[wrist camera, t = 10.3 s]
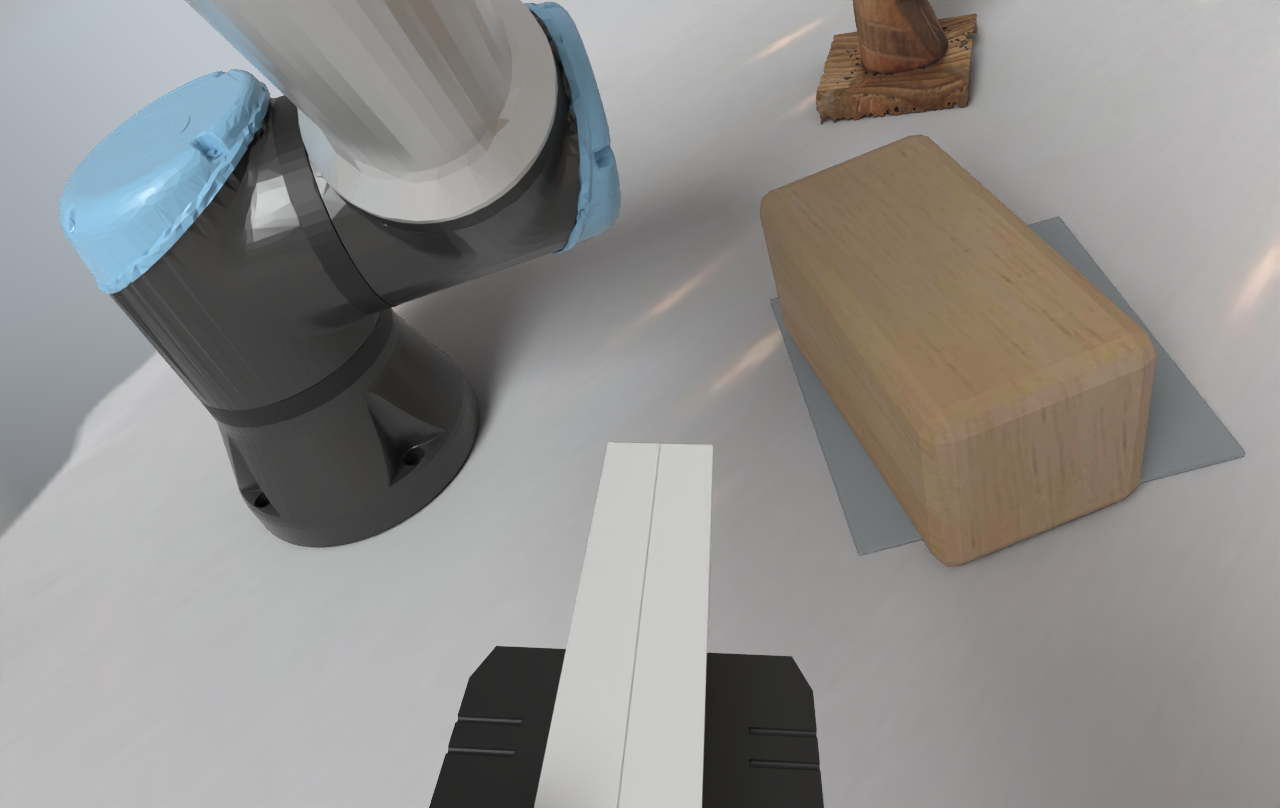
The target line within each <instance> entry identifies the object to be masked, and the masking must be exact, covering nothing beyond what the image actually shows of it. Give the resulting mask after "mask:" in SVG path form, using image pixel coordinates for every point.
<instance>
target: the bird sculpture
mask: <svg viewBox="0 0 1280 808" xmlns="http://www.w3.org/2000/svg"><path fill="white" fill-rule="evenodd" d="M853 6H854V14H855V22H856V27H857V32H852V33H845V34H838V35H835V36H834V37H833V38H834V41H833V42H832V44H831V49H830V52H829V54H830V55H828V57H827V59H828V60H827V61H826V62H825V69H824V73H826V74H823V75H822V77H821V81H820V85H819V87H818V90H817V95H816V100H817V101H816V105H817V111H818V112H819V113H820V118H821V124H823V121H824V119H825V118H827V117H831V118H832V120H833V121H834V123H835V122H836V119H837V118H840V119H841V118H843V117H845V118H846V119H847V120H849V119H850V118H854V120H858V119H860V118H861V117H862V116H864V115H866V116H868V117H869V115H870V114H874V117H877V116H878V115H879V116H880V117H881V116H884V113H886V114H887V110H888V112H889V113H890V115H892V114H894V115H898V114H901V113H903V114H905V113H910V111H912V113H913V112H926V110H927V109H928V110H931V109H933V110H934V111H935V110H936V109H941V110H942V108H943V107H946V108H947V107H949V108H955V107H953V106H952V105H953V103H954V102H956V103H957V107H966V106H967V104H968V100H969V77H970V73H969V71H970V70H969V68H970V64H971V62H969V60H970V59H971V50H972V46H973V45H972V44H971V43H972V39H973V38H971V39H970V38H969V39H967V37H965V34H966V35H967V34H968V35H970V34H972V33H974V34H975V33H977V21H976V17H977V14H972V15H965V16H958V17H951V18H946V19H939V20H938V19H937V18H936V16H935V14H934V11H933V9H932V7H931V6H930V4H929V2H928V0H853ZM962 34H963V36H962ZM950 36H954V37H953V39H951V38H949V37H950ZM957 36H959V37H957ZM955 39H959V40H960V41H962V40H966V41H964V42H963V43H961V42H960V41H955ZM948 41H949V42H948ZM950 41H954V42H950ZM965 42H968V43H967V44H966V45H964V46H963V47H961V48H959V46H961V44H965ZM969 42H970V43H969ZM955 46H957V47H955ZM965 46H967V48H969V50H965V49H966V48H965ZM848 51H851V52H849V53H848ZM854 51H857V52H854ZM841 53H842V54H841ZM850 55H853V56H852V57H849V56H850ZM856 58H859V59H858V60H857V59H856ZM853 60H854V61H853ZM935 62H938V63H937V64H932V63H935ZM856 63H858V64H859V65H858V66H855V64H856ZM861 64H863V65H862V66H860V65H861ZM930 64H932V65H930ZM923 67H926V69H920V68H923ZM854 70H856V71H857V72H856V71H854ZM910 70H912V71H910ZM825 71H826V72H825ZM865 71H866V72H867V73H866V72H865ZM851 72H854V73H853V74H851ZM875 72H877V73H878V75H876V76H873V75H872V74H873V73H875ZM864 73H866V74H864ZM886 73H894V74H892V75H891V74H888V75H885V74H886ZM826 78H827V79H826ZM846 78H848V79H846ZM822 80H824V81H822ZM829 80H831V81H829ZM838 82H839V83H838ZM948 102H950V103H951V104H950V105H948ZM896 107H898V109H899V112H895V108H896ZM913 108H915V110H914V109H913Z"/></svg>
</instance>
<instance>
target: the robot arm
mask: <svg viewBox="0 0 1280 808" xmlns="http://www.w3.org/2000/svg"><path fill="white" fill-rule="evenodd" d="M185 1H186V2H187V3H188V4H189V5H190V6H191V7H192V8H193V9H195V11H197V12H198V13H199V14H200V15H201V16H202V17H203V18H204V19H205V20H206V21H207V22H208V23H209V24H210V25H211V26H213V28H214V29H216V30H217V31H218V32H219V33H220V34H221V35H222V36H223V37H224V38H225V39H226V40H227V41H228V42H229V43H230V44H231V45H232V46H233V47H234V48H236V49H237V50H238V51H239V52H240V53H241V54H242V55H243V56H244V57H245V58H246V59H247V60H248V61H249V62H250V63H251V64H252V65H253V66H255V67H256V68H257V69H258V70H259V71H260V72H261V73H262V74H263V75H264V76H265V77H266V78H267V79H268V80H269V81H271V83H272V84H273V85H274V86H276V87H277V88H278V89H279V90H280V91H281V92H282V93H283V94H284V96H281V97H278V98H270V93H269V91H268V89H267V87H266V85H265V84H264V83H262V82H260V81H258V80H257V79H256V78H255V77H254V76H253V75H252V74H250V73H249V72H246V71H243V70H237V69H235V70H230V71H229V72H227V73H225V72H223V71H218V72H214V73H212V74H208V75H205V76H202V77H200V78H197V79H195V80H193V81H191V82H188V83H186V84H184V85H182V86H180V87H178V88H176V89H174V90H173V91H171V92H169V93H167V94H165V95H164V96H162V97H161V98H159V99H157V100H156V101H154V102H153V103H151V104H149V105H148V106H146V107H145V108H143V109H142V110H140V111H139V112H137V113H136V114H134V115H133V116H132V117H130V118H129V119H128V120H127V121H125V122H124V123H122V124H121V125H120V126H119V127H118V128H116V129H115V130H114V131H113V132H111V133H110V134H109V135H108V136H107V137H106V138H105V139H104V140H102V141H101V142H100V143H99V144H98V145H97V146H96V147H95V148H94V149H93V150H92V151H91V152H90V153H89V154H88V156H87V157H86V158H85V159H84V160H83V161H82V162H81V164H80V165H79V166H78V167H77V168H76V170H75V171H74V173H73V174H72V176H71V177H70V179H69V180H68V182H67V184H66V186H65V188H64V190H63V193H62V196H61V199H60V203H59V219H60V224H61V227H62V230H63V232H64V234H65V236H66V238H67V239H68V240H69V242H70V243H71V245H72V246H73V247H74V249H75V250H76V252H77V253H78V255H79V256H80V258H81V259H82V260H83V262H84V263H85V265H86V266H87V267H88V269H89V270H90V272H91V273H92V275H93V276H94V278H95V279H96V281H97V285H98V286H99V288H100V290H101V291H103V292H104V293H107V294H109V295H110V296H111V298H112V299H113V300H114V301H115V302H116V303H117V305H118V306H119V307H120V308H121V309H122V310H123V312H124V313H125V314H126V315H127V316H128V317H129V318H130V320H131V321H132V322H133V323H134V324H135V326H136V327H137V328H138V329H139V330H140V331H141V332H142V334H143V335H144V336H145V337H146V338H147V339H148V341H149V342H150V343H151V344H152V345H153V347H154V348H155V349H156V350H157V351H158V352H159V354H160V355H161V356H162V357H163V358H164V359H165V361H166V362H167V363H168V364H169V365H170V366H171V368H172V369H173V370H174V371H175V372H176V373H177V375H178V376H179V377H180V378H181V379H182V380H183V382H184V383H185V384H186V385H187V386H188V387H189V389H190V390H191V391H192V392H193V393H194V394H195V396H196V397H197V398H198V399H199V400H200V401H201V402H202V404H203V405H204V406H205V407H206V408H207V410H208V411H209V412H210V413H211V415H212V416H213V417H214V418H215V420H216V421H217V423H218V426H219V429H220V432H221V435H222V438H223V441H224V444H225V447H226V450H227V453H228V456H229V459H230V462H231V465H232V469H233V472H234V475H235V478H236V481H237V484H238V487H239V490H240V493H241V495H242V497H243V499H244V501H245V503H246V504H247V506H248V507H249V508H250V510H251V511H252V512H253V513H254V514H255V515H256V516H257V518H258V519H259V520H260V521H261V522H262V523H263V524H264V525H265V527H266V528H267V529H268V530H269V531H270V532H271V533H272V534H274V535H275V536H277V537H278V538H280V539H282V540H284V541H286V542H289V543H292V544H295V545H300V546H306V547H331V546H338V545H344V544H348V543H352V542H356V541H359V540H363V539H366V538H368V537H371V536H374V535H376V534H378V533H381V532H383V531H385V530H387V529H389V528H391V527H393V526H395V525H396V524H398V523H400V522H402V521H403V520H405V519H406V518H408V517H410V516H411V515H412V514H414V513H415V512H417V511H418V510H419V509H421V508H422V507H423V506H425V505H426V504H427V503H428V502H429V501H431V500H432V499H433V498H434V497H435V496H436V495H437V494H438V493H439V492H440V491H441V490H442V489H443V488H444V487H445V486H446V485H447V484H448V483H449V482H450V480H451V479H452V478H453V477H454V475H455V474H456V473H457V471H458V470H459V469H460V467H461V466H462V464H463V462H464V461H465V459H466V457H467V455H468V454H469V452H470V449H471V447H472V445H473V442H474V439H475V436H476V432H477V427H478V418H479V416H478V405H477V401H476V398H475V396H474V394H473V392H472V390H471V388H470V386H469V385H468V383H467V381H466V379H465V377H464V376H463V374H462V372H461V370H460V369H459V367H458V366H457V365H456V364H455V362H454V361H453V360H452V359H451V358H450V357H449V356H447V355H446V354H445V353H444V352H442V351H441V350H440V349H439V348H438V347H436V346H435V345H434V344H433V343H432V342H430V341H429V340H428V339H427V338H426V337H424V336H423V335H422V334H421V333H419V332H418V331H417V330H416V329H414V328H413V327H412V326H411V325H409V324H408V323H407V322H406V321H405V320H403V319H402V318H401V317H400V316H398V315H397V314H396V313H395V312H394V311H393V310H392V308H391V307H394V306H398V305H400V304H403V303H406V302H408V301H411V300H414V299H417V298H420V297H423V296H426V295H429V294H432V293H435V292H438V291H441V290H444V289H446V288H449V287H452V286H455V285H458V284H461V283H464V282H467V281H470V280H473V279H476V278H479V277H482V276H485V275H487V274H490V273H493V272H496V271H499V270H502V269H505V268H508V267H511V266H514V265H517V264H520V263H523V262H525V261H528V260H531V259H534V258H537V257H540V256H543V255H546V254H549V253H554V254H559V253H561V252H566V251H568V250H571V249H572V248H573V247H574V246H575V245H576V244H577V243H579V242H582V241H584V240H587V239H589V238H592V237H594V236H597V235H599V234H601V233H603V232H605V231H606V230H608V229H609V228H610V227H611V226H612V225H613V223H614V222H615V220H616V218H617V216H618V213H619V208H620V185H619V177H618V171H617V166H616V161H615V157H614V154H613V151H612V149H611V148H610V135H609V128H608V124H607V119H606V115H605V112H604V108H603V104H602V101H601V97H600V93H599V90H598V87H597V83H596V80H595V77H594V73H593V70H592V67H591V64H590V61H589V58H588V56H587V53H586V50H585V47H584V44H583V42H582V39H581V37H580V34H579V32H578V30H577V27H576V25H575V23H574V21H573V19H572V18H571V17H570V15H569V13H568V12H567V11H566V10H564V8H563V7H562V6H560V5H559V4H557V3H554V2H544V3H540V4H534V3H525V4H523V3H522V2H521V1H520V0H185ZM712 465H713V445H691V444H653V443H615V442H608V445H607V450H606V455H605V460H604V464H603V469H602V474H601V479H600V484H599V489H598V494H597V499H596V504H595V509H594V514H593V519H592V524H591V529H590V534H589V539H588V543H587V548H586V553H585V558H584V563H583V568H582V573H581V578H580V583H579V588H578V593H577V598H576V603H575V608H574V613H573V618H572V622H571V627H570V632H569V637H568V642H567V647H566V649H550V648H527V647H504V646H496V647H495V648H494V650H493V651H492V652H491V653H490V654H489V655H488V657H487V658H486V659H485V660H484V661H483V662H482V664H481V665H480V666H479V667H478V668H477V669H476V671H475V672H474V673H473V674H472V675H471V676H470V678H469V681H468V684H467V687H466V691H465V694H464V697H463V700H462V703H461V707H460V710H459V713H458V721H457V722H456V723H455V726H454V729H453V733H452V736H451V739H450V742H449V745H448V747H449V748H448V754H446V755H445V758H444V762H443V765H442V768H441V771H440V774H439V778H438V781H437V784H436V787H435V791H434V794H433V797H432V800H431V804H430V807H429V808H824V805H823V794H822V783H821V773H820V769H819V763H820V762H819V751H818V741H817V737H816V719H815V709H814V698H813V691H812V689H811V687H810V686H809V684H808V682H807V681H806V679H805V677H804V676H803V674H802V672H801V671H800V669H799V668H798V666H797V664H796V663H795V661H794V659H793V658H792V657H791V656H768V655H745V654H722V653H708V643H709V608H710V565H711V515H712Z"/></svg>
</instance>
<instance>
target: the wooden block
mask: <svg viewBox="0 0 1280 808" xmlns="http://www.w3.org/2000/svg"><path fill="white" fill-rule="evenodd" d="M760 217H761V221H762V226H763V230H764V235H765V239H766V244H767V248H768V253H769V257H770V262H771V266H772V271H773V275H774V280H775V284H776V289H777V293H778V298H779V302H780V307H781V311H782V316H783V320H784V324H785V327H786V329H787V330H788V332H789V333H790V335H791V336H792V338H793V340H794V341H795V343H796V344H797V346H798V347H799V349H800V350H801V352H802V353H803V355H804V357H805V358H806V360H807V361H808V363H809V364H810V366H811V367H812V369H813V370H814V372H815V374H816V375H817V377H818V378H819V380H820V381H821V383H822V384H823V386H824V388H825V389H826V391H827V392H828V394H829V395H830V397H831V398H832V400H833V401H834V403H835V405H836V406H837V408H838V409H839V411H840V412H841V414H842V415H843V417H844V418H845V420H846V422H847V423H848V425H849V426H850V428H851V429H852V431H853V432H854V434H855V435H856V437H857V439H858V440H859V442H860V443H861V445H862V446H863V448H864V449H865V451H866V452H867V454H868V456H869V457H870V459H871V460H872V462H873V463H874V465H875V466H876V468H877V470H878V471H879V473H880V474H881V476H882V477H883V479H884V480H885V482H886V483H887V485H888V487H889V488H890V490H891V491H892V493H893V494H894V496H895V497H896V499H897V500H898V502H899V504H900V505H901V507H902V508H903V510H904V511H905V513H906V514H907V516H908V517H909V519H910V521H911V522H912V524H913V525H914V527H915V528H916V530H917V531H918V533H919V534H920V536H921V538H922V539H923V541H924V542H925V544H926V545H927V547H928V548H929V550H930V552H931V553H932V554H933V555H934V556H935V557H936V558H937V559H938V560H940V561H941V562H942V563H943V564H945V565H946V566H956V565H962V564H965V563H967V562H970V561H972V560H974V559H977V558H979V557H982V556H984V555H987V554H989V553H992V552H994V551H997V550H999V549H1002V548H1004V547H1007V546H1009V545H1012V544H1014V543H1017V542H1019V541H1022V540H1024V539H1027V538H1029V537H1032V536H1034V535H1037V534H1039V533H1041V532H1044V531H1046V530H1049V529H1051V528H1054V527H1056V526H1059V525H1061V524H1064V523H1066V522H1069V521H1071V520H1074V519H1076V518H1079V517H1081V516H1084V515H1086V514H1089V513H1091V512H1094V511H1096V510H1099V509H1101V508H1104V507H1106V506H1108V505H1111V504H1113V503H1116V502H1118V501H1121V500H1123V499H1125V498H1126V497H1127V496H1128V495H1129V494H1131V493H1132V492H1133V491H1134V490H1135V489H1136V487H1137V486H1138V485H1139V482H1140V475H1141V467H1142V460H1143V452H1144V445H1145V438H1146V430H1147V423H1148V415H1149V408H1150V400H1151V393H1152V385H1153V378H1154V370H1155V363H1156V353H1155V350H1154V347H1153V344H1152V342H1151V340H1150V338H1149V336H1148V334H1147V332H1145V331H1144V330H1143V329H1142V328H1141V327H1140V326H1139V325H1138V324H1137V323H1135V322H1134V321H1133V320H1132V319H1131V318H1130V317H1129V316H1128V315H1126V314H1125V313H1124V312H1123V311H1122V310H1121V309H1120V308H1119V307H1118V306H1116V305H1115V304H1114V303H1113V302H1112V301H1111V300H1110V299H1109V298H1107V297H1106V296H1105V295H1104V294H1103V293H1102V292H1101V291H1100V290H1099V289H1097V288H1096V287H1095V286H1094V285H1093V284H1092V283H1091V282H1090V281H1088V280H1087V279H1086V278H1085V277H1084V276H1083V275H1082V274H1081V273H1080V272H1078V271H1077V270H1076V269H1075V268H1074V267H1073V266H1072V265H1071V264H1069V263H1068V262H1067V261H1066V260H1065V259H1064V258H1063V257H1062V256H1061V255H1059V254H1058V253H1057V252H1056V251H1055V250H1054V249H1053V248H1052V247H1051V246H1049V245H1048V244H1047V243H1046V242H1045V241H1044V240H1043V239H1042V238H1040V237H1039V236H1038V235H1037V234H1036V233H1035V232H1034V231H1033V230H1032V229H1030V228H1029V227H1028V226H1027V225H1026V224H1025V223H1024V222H1023V221H1021V220H1020V219H1019V218H1018V217H1017V216H1016V215H1015V214H1014V213H1013V212H1011V211H1010V210H1009V209H1008V208H1007V207H1006V206H1005V205H1004V204H1002V203H1001V202H1000V201H999V200H998V199H997V198H996V197H995V196H994V195H992V194H991V193H990V192H989V191H988V190H987V189H986V188H985V187H983V186H982V185H981V184H980V183H979V182H978V181H977V180H976V179H975V178H973V177H972V176H971V175H970V174H969V173H968V172H967V171H966V170H964V169H963V168H962V167H961V166H960V165H959V164H958V163H957V162H956V161H954V160H953V159H952V158H951V157H950V156H949V155H948V154H947V153H945V152H944V151H943V150H942V149H941V148H940V147H939V146H938V145H937V144H935V143H934V142H933V141H932V140H931V139H930V138H929V137H927V136H922V135H916V136H908V137H906V138H903V139H901V140H898V141H896V142H893V143H891V144H888V145H886V146H883V147H881V148H878V149H875V150H873V151H870V152H868V153H865V154H863V155H860V156H858V157H855V158H853V159H850V160H848V161H845V162H843V163H840V164H838V165H835V166H833V167H830V168H828V169H825V170H823V171H820V172H818V173H815V174H813V175H810V176H808V177H805V178H803V179H800V180H798V181H795V182H793V183H790V184H788V185H785V186H783V187H780V188H778V189H775V190H773V191H770V192H769V193H768V194H767V195H765V196H764V197H763V198H762V200H761V209H760Z"/></svg>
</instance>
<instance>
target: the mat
mask: <svg viewBox="0 0 1280 808" xmlns="http://www.w3.org/2000/svg"><path fill="white" fill-rule="evenodd" d="M1027 226H1028V227H1029V228H1030V229H1032V230H1033V231H1034V232H1035V233H1036V234H1037V235H1038V236H1039V237H1040V238H1042V239H1043V240H1044V241H1045V242H1046V243H1047V244H1048V245H1049V246H1051V247H1052V248H1053V249H1054V250H1055V251H1056V252H1057V253H1058V254H1059V255H1061V256H1062V257H1063V258H1064V259H1065V260H1066V261H1067V262H1068V263H1069V264H1071V265H1072V266H1073V267H1074V268H1075V269H1076V270H1077V271H1078V272H1080V273H1081V274H1082V275H1083V276H1084V277H1085V278H1086V279H1087V280H1088V281H1090V282H1091V283H1092V284H1093V285H1094V286H1095V287H1096V288H1097V289H1099V290H1100V291H1101V292H1102V293H1103V294H1104V295H1105V296H1106V297H1107V298H1109V299H1110V300H1111V301H1112V302H1113V303H1114V304H1115V305H1116V306H1118V307H1119V308H1120V309H1121V310H1122V311H1123V312H1124V313H1125V314H1126V315H1128V316H1129V317H1130V318H1131V319H1132V320H1133V321H1134V322H1135V323H1137V324H1138V325H1139V326H1140V327H1141V328H1142V329H1143V330H1144V331H1145V332H1147V334H1148V336H1149V338H1150V340H1151V342H1152V344H1153V347H1154V350H1155V353H1156V363H1155V370H1154V378H1153V385H1152V393H1151V400H1150V408H1149V415H1148V423H1147V430H1146V438H1145V445H1144V452H1143V460H1142V467H1141V475H1140V482H1139V483H1143V482H1147V481H1151V480H1155V479H1159V478H1162V477H1166V476H1170V475H1174V474H1178V473H1182V472H1186V471H1190V470H1193V469H1197V468H1201V467H1205V466H1209V465H1213V464H1217V463H1221V462H1225V461H1228V460H1232V459H1236V458H1240V457H1244V455H1245V451H1244V450H1243V449H1242V448H1241V446H1240V445H1239V444H1238V443H1237V441H1236V440H1235V439H1234V438H1233V436H1232V435H1231V434H1230V432H1229V431H1228V430H1227V429H1226V427H1225V426H1224V425H1223V424H1222V422H1221V421H1220V420H1219V419H1218V417H1217V416H1216V415H1215V413H1214V412H1213V411H1212V410H1211V408H1210V407H1209V406H1208V405H1207V403H1206V402H1205V401H1204V400H1203V398H1202V397H1201V396H1200V394H1199V393H1198V392H1197V391H1196V389H1195V388H1194V387H1193V386H1192V384H1191V383H1190V382H1189V381H1188V379H1187V378H1186V377H1185V376H1184V374H1183V373H1182V372H1181V370H1180V369H1179V368H1178V367H1177V365H1176V364H1175V363H1174V362H1173V360H1172V359H1171V358H1170V357H1169V355H1168V354H1167V353H1166V351H1165V350H1164V349H1163V348H1162V346H1161V345H1160V344H1159V343H1158V341H1157V340H1156V339H1155V338H1154V336H1153V335H1152V334H1151V332H1150V331H1149V330H1148V329H1147V327H1146V326H1145V325H1144V324H1143V322H1142V321H1141V320H1140V319H1139V317H1138V316H1137V315H1136V313H1135V312H1134V311H1133V310H1132V308H1131V307H1130V306H1129V305H1128V303H1127V302H1126V301H1125V300H1124V298H1123V297H1122V296H1121V294H1120V293H1119V292H1118V291H1117V289H1116V288H1115V287H1114V286H1113V284H1112V283H1111V282H1110V281H1109V279H1108V278H1107V277H1106V276H1105V274H1104V273H1103V272H1102V270H1101V269H1100V268H1099V267H1098V265H1097V264H1096V263H1095V262H1094V260H1093V259H1092V258H1091V257H1090V255H1089V254H1088V253H1087V251H1086V250H1085V249H1084V248H1083V246H1082V245H1081V244H1080V243H1079V241H1078V240H1077V239H1076V238H1075V236H1074V235H1073V234H1072V232H1071V231H1070V230H1069V229H1068V227H1067V226H1066V225H1065V224H1064V222H1063V221H1062V220H1061V219H1060V217H1055V218H1052V219H1048V220H1045V221H1041V222H1038V223H1034V224H1031V225H1027ZM771 304H772V307H773V309H774V312H775V315H776V318H777V321H778V324H779V327H780V330H781V332H782V335H783V338H784V341H785V344H786V347H787V350H788V353H789V355H790V358H791V361H792V364H793V367H794V370H795V373H796V376H797V378H798V381H799V384H800V387H801V390H802V393H803V396H804V399H805V401H806V404H807V407H808V410H809V413H810V416H811V419H812V422H813V424H814V427H815V430H816V433H817V436H818V439H819V442H820V445H821V447H822V450H823V453H824V456H825V459H826V462H827V465H828V467H829V470H830V473H831V476H832V479H833V482H834V485H835V488H836V490H837V493H838V496H839V499H840V502H841V505H842V508H843V511H844V513H845V516H846V519H847V522H848V525H849V528H850V531H851V534H852V536H853V539H854V542H855V545H856V548H857V551H858V554H859V556H860V555H863V554H867V553H871V552H875V551H879V550H883V549H887V548H891V547H895V546H898V545H902V544H906V543H910V542H914V541H918V540H922V538H921V536H920V534H919V533H918V531H917V530H916V528H915V527H914V525H913V524H912V522H911V521H910V519H909V517H908V516H907V514H906V513H905V511H904V510H903V508H902V507H901V505H900V504H899V502H898V500H897V499H896V497H895V496H894V494H893V493H892V491H891V490H890V488H889V487H888V485H887V483H886V482H885V480H884V479H883V477H882V476H881V474H880V473H879V471H878V470H877V468H876V466H875V465H874V463H873V462H872V460H871V459H870V457H869V456H868V454H867V452H866V451H865V449H864V448H863V446H862V445H861V443H860V442H859V440H858V439H857V437H856V435H855V434H854V432H853V431H852V429H851V428H850V426H849V425H848V423H847V422H846V420H845V418H844V417H843V415H842V414H841V412H840V411H839V409H838V408H837V406H836V405H835V403H834V401H833V400H832V398H831V397H830V395H829V394H828V392H827V391H826V389H825V388H824V386H823V384H822V383H821V381H820V380H819V378H818V377H817V375H816V374H815V372H814V370H813V369H812V367H811V366H810V364H809V363H808V361H807V360H806V358H805V357H804V355H803V353H802V352H801V350H800V349H799V347H798V346H797V344H796V343H795V341H794V340H793V338H792V336H791V335H790V333H789V332H788V330H787V329H786V327H785V324H784V320H783V316H782V311H781V307H780V302H779V298H774V299H771Z"/></svg>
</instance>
